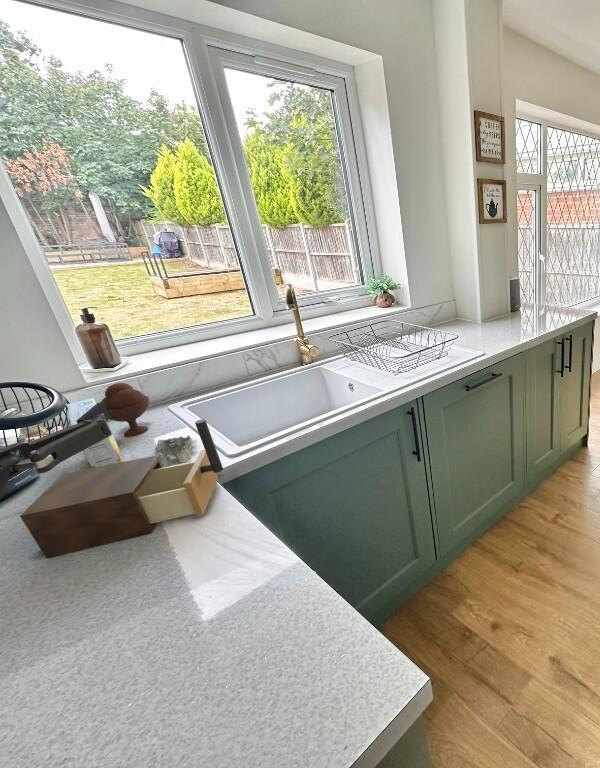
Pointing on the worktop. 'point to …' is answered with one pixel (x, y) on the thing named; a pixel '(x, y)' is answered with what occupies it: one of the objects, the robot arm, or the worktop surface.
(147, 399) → the ice cream bowl
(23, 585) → the worktop surface
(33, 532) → the storage box
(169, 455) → the grey rock
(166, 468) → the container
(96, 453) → the snack box
